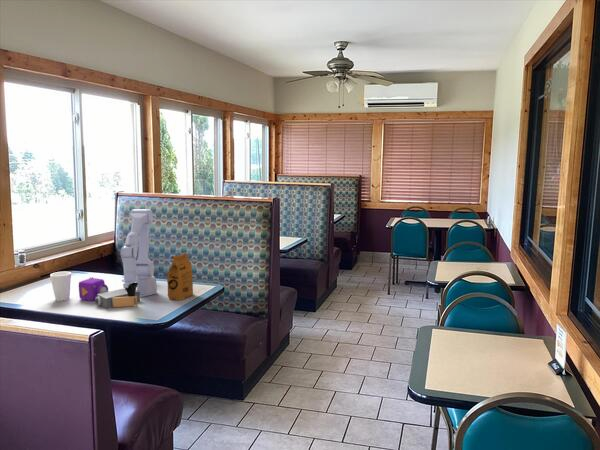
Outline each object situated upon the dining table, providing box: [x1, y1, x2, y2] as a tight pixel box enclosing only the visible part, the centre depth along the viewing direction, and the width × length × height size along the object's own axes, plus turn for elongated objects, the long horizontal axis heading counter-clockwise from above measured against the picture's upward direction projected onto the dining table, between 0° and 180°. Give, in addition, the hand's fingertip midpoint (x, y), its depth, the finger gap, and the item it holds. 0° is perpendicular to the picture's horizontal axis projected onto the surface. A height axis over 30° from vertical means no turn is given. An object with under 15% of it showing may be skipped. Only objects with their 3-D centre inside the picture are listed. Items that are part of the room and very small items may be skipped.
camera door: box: [112, 296, 138, 308], centre depth 243 cm, size 11×1×4 cm, turn 104°
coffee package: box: [166, 252, 194, 301], centre depth 257 cm, size 10×12×22 cm
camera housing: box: [94, 288, 141, 310], centre depth 249 cm, size 19×10×6 cm, turn 134°
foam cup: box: [49, 271, 72, 302], centre depth 255 cm, size 10×9×13 cm
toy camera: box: [78, 276, 109, 302], centre depth 256 cm, size 11×14×10 cm
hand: (131, 298), depth 245 cm, fingers closed
